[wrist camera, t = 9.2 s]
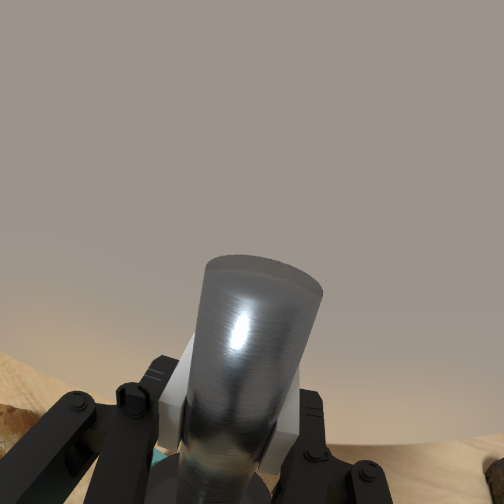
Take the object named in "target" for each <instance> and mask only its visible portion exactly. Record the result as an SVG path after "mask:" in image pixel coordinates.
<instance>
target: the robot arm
mask: <svg viewBox="0 0 504 504" xmlns="http://www.w3.org/2000/svg"><path fill="white" fill-rule="evenodd" d="M194 337H195V333H194V334H193V336H192V338H191V340H190V342H189V344H188V346H187V348H186V349H185V351H184V353H183V355H182V357H181V359H180V360H177V359H174V358H170V357H167V356H164V355H161V356H160V357H158V358H157V359H155V360H153V362H152V363H151V365H150V367H149V369H148V370H147V371H146V373H145V375H144V376H143V378H142V379H141V381H140V382H139V383H135V382H130V383H125V384H123V385H121V386H119V387H118V389H117V390H116V398H117V405H106V404H99V403H95V401H94V399H93V398H92V396H90V395H89V394H88V393H85V392H82V391H71V392H68V393H66V394H65V395H63V396H62V397H61V398H60V399H59V400H58V401H57V402H56V403H55V404H54V405H53V406H52V407H51V408H50V409H49V410H48V411H47V412H46V413H45V414H44V415H43V416H42V417H41V418H40V419H39V420H38V421H37V422H36V423H35V424H34V425H33V426H32V427H31V428H30V429H29V430H28V431H27V433H26V434H25V435H24V436H23V437H22V438H21V439H20V440H19V441H18V442H17V443H16V444H15V445H14V446H13V447H12V448H11V449H10V450H9V451H8V452H7V453H6V454H5V455H4V456H3V457H2V458H1V459H0V504H63V503H64V502H65V501H66V499H67V498H68V496H69V495H70V494H71V492H72V491H73V490H74V488H75V487H76V486H77V484H78V483H79V481H80V480H81V479H82V477H83V476H84V475H85V473H86V472H87V471H88V469H89V468H90V467H91V465H92V464H93V462H94V461H95V460H96V458H97V457H98V456H99V457H98V460H97V463H96V466H95V469H94V472H93V475H92V478H91V481H90V484H89V487H88V490H87V493H86V496H85V499H84V503H83V504H144V499H145V494H146V489H147V484H148V479H149V474H150V469H151V464H152V460H153V455H154V452H153V448H154V446H155V444H156V442H157V440H158V445H157V446H160V447H163V448H166V449H169V450H172V451H175V452H177V449H178V446H179V444H180V441H181V438H182V430H183V421H184V412H185V404H186V396H187V388H188V380H189V373H190V365H191V358H192V351H193V344H194ZM323 417H324V413H323V401H322V399H321V397H320V395H319V394H318V392H315V391H310V390H304V389H299V366H298V368H297V371H296V374H295V376H294V379H293V381H292V384H291V387H290V389H289V392H288V394H287V397H286V399H285V402H284V404H283V407H282V409H281V412H280V414H279V417H278V418H277V421H276V423H275V426H274V428H273V430H272V433H271V435H270V437H269V440H268V442H267V444H266V447H265V449H264V451H263V453H262V456H261V458H260V460H259V466H258V472H262V473H268V474H274V475H277V474H278V473H279V471H280V469H281V471H280V479H279V481H278V483H277V484H276V486H275V487H274V489H273V491H272V492H271V493H272V494H273V496H272V500H271V503H270V504H393V502H392V498H391V494H390V491H389V487H388V484H387V480H386V477H385V473H384V471H383V469H382V468H381V467H380V466H379V465H378V464H377V463H375V462H373V461H369V460H362V461H358V462H357V463H355V464H354V465H352V464H349V463H346V462H343V461H341V460H339V459H336V458H335V457H334V456H332V454H331V452H330V450H329V449H328V448H327V447H326V441H325V427H324V418H323ZM99 454H100V455H99Z"/></svg>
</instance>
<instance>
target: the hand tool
mask: <svg viewBox="0 0 504 504" xmlns="http://www.w3.org/2000/svg"><path fill="white" fill-rule="evenodd" d="M485 476H487V477H488V478H489V479H488V482H487V484H490V485H491V488H492V493H493V497H494V501H495V504H504V458H502V459H500V460H498V461H495V462H493V463H492V464H491V465H490V467H489V469H488V470H487V471H486V472H485Z"/></svg>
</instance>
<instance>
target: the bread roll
mask: <svg viewBox="0 0 504 504" xmlns="http://www.w3.org/2000/svg"><path fill="white" fill-rule="evenodd" d="M39 419H40V418H37V417H36V415H35V414H34V413H33V412H32V411H31V410H26V409H19V408H14V407H13V406H11V405H4V404H0V459H1V458H2V457H3V456H4V455H5V454H6V453H7V452H8V451H9V450H10V449H11V448H12V447H13V446H14V445H15V444H16V443H17V442H18V441H19V440H20V439H21V438H22V437H23V436H24V435H25V434H26V433H27V431H28V430H29V429H30V428H31V427H32V426H33V425H34V424H35V423H36V422H37V421H38V420H39Z"/></svg>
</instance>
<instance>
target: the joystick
mask: <svg viewBox="0 0 504 504" xmlns="http://www.w3.org/2000/svg"><path fill="white" fill-rule="evenodd" d="M322 297H323V290H322V287H321V286H320V284H319V283H318V282H317V281H316V280H315V279H314V278H312V277H311V276H310V275H308V274H307V273H305V272H303V271H301V270H299V269H297V268H295V267H293V266H290V265H288V264H285V263H282V262H279V261H275V260H272V259H268V258H263V257H257V256H250V255H226V256H220V257H217V258H214V259H212V260H211V261H209V262H208V264H207V265H206V268H205V274H204V280H203V286H202V292H201V299H200V304H199V311H198V318H197V324H196V330H195V337H194V344H193V351H192V358H191V365H190V373H189V380H188V388H187V396H186V404H185V412H184V421H183V430H182V438H181V447H180V453H177V454H173V455H170V456H168V457H166V458H164V459H162V460H160V461H159V462H157V463H156V464H155V465H153V466H152V467H151V469H150V474H149V479H148V484H147V489H146V494H145V499H144V504H270V503H271V500H272V498H271V495H270V492H269V490H268V488H267V486H266V484H265V483H264V482H263V480H262V479H261V478H260V477H259V475H258V474H257V473H256V472H255V469H256V467H257V465H258V463H259V460H260V458H261V456H262V453H263V451H264V449H265V447H266V444H267V442H268V440H269V437H270V435H271V433H272V430H273V428H274V426H275V423H276V421H277V418H278V417H279V414H280V412H281V409H282V407H283V404H284V402H285V399H286V397H287V394H288V392H289V389H290V387H291V384H292V381H293V379H294V376H295V374H296V371H297V368H298V366H299V362H300V360H301V357H302V355H303V352H304V349H305V346H306V344H307V341H308V338H309V335H310V332H311V329H312V326H313V324H314V321H315V318H316V315H317V312H318V309H319V306H320V303H321V300H322Z"/></svg>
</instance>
